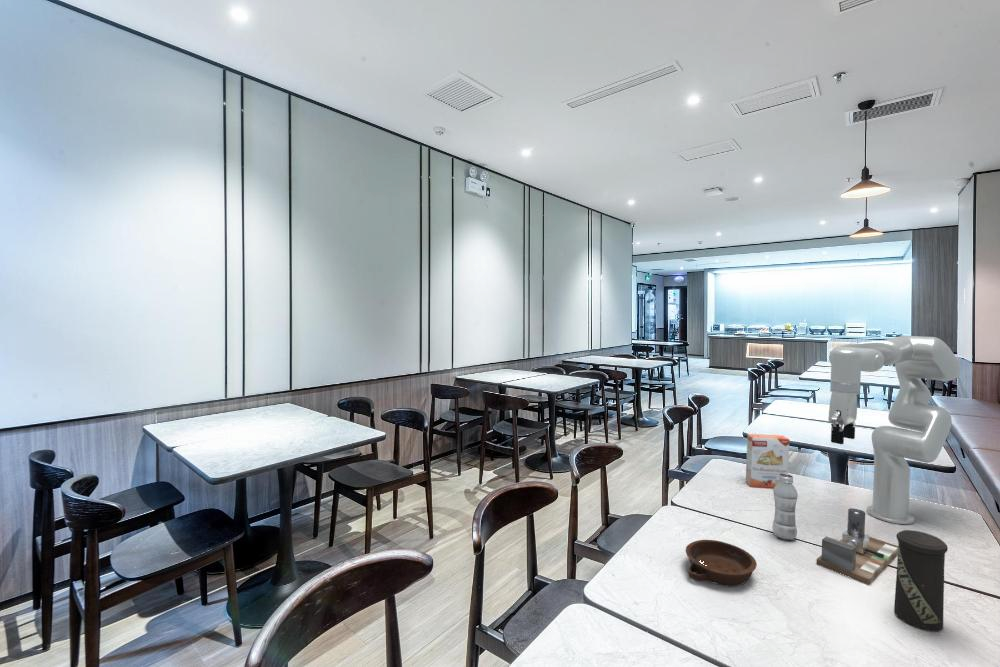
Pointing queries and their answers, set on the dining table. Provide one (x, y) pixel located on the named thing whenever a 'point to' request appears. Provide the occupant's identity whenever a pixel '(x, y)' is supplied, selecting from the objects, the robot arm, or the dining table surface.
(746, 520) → the dining table surface
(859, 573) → the gauge base
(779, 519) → the plastic bottle
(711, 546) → the dish
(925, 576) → the container
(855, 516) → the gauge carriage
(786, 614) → the dining table surface
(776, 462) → the cracker box
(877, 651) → the dining table surface
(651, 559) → the dining table surface
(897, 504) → the robot arm
